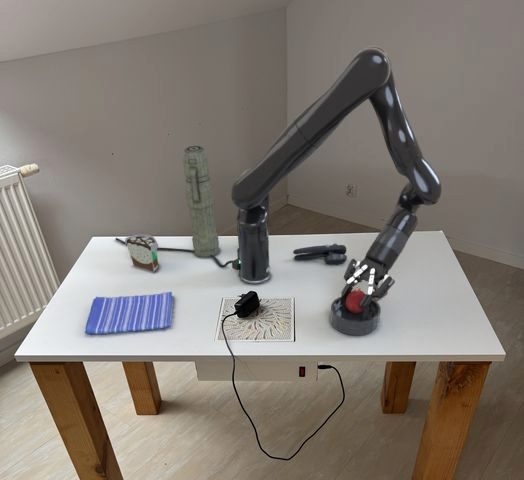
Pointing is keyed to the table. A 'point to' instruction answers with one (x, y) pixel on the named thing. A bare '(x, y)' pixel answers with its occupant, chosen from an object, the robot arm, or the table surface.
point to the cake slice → (143, 251)
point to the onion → (355, 300)
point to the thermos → (200, 202)
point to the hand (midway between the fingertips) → (352, 302)
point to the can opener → (323, 253)
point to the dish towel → (129, 313)
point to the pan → (354, 318)
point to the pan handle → (380, 298)
